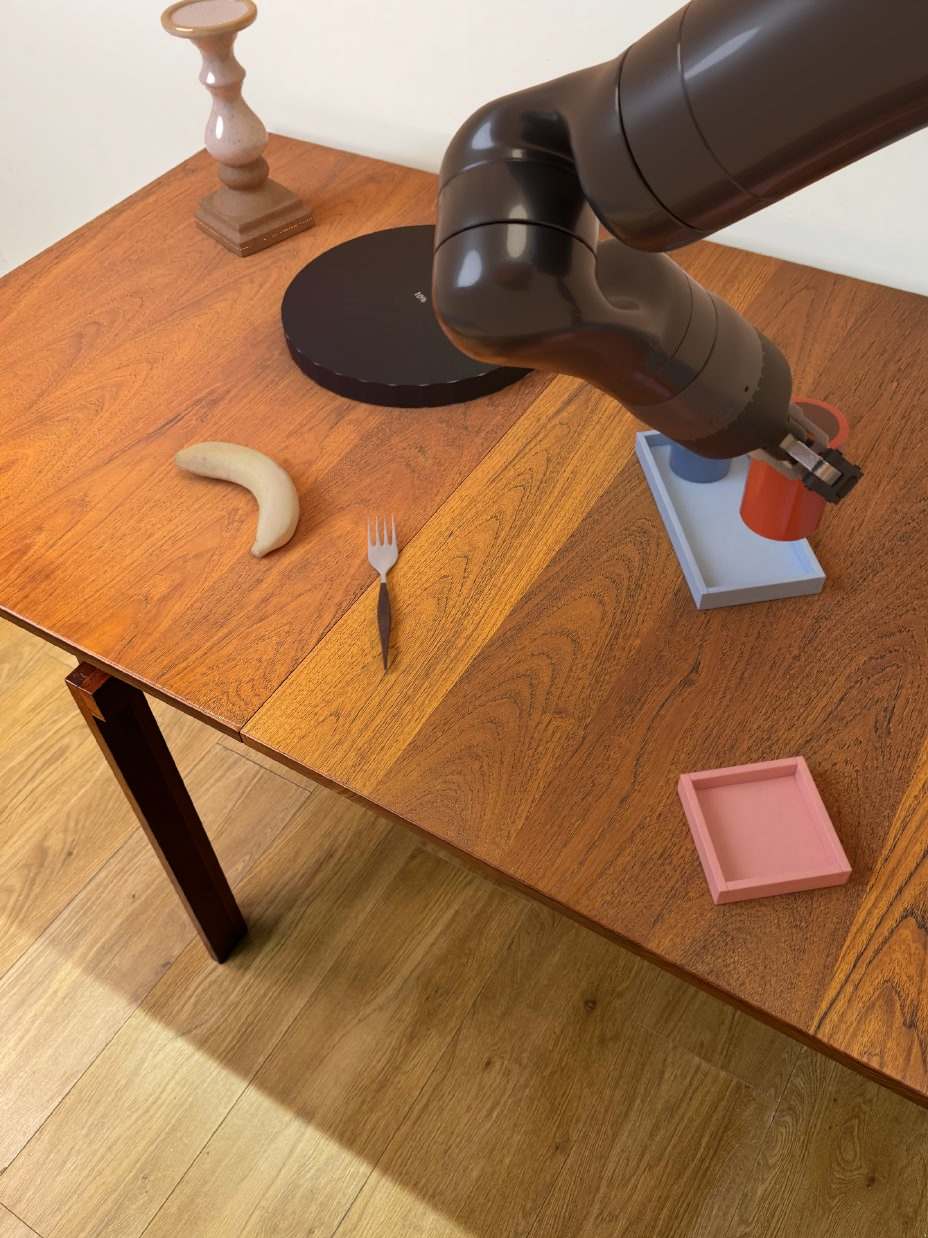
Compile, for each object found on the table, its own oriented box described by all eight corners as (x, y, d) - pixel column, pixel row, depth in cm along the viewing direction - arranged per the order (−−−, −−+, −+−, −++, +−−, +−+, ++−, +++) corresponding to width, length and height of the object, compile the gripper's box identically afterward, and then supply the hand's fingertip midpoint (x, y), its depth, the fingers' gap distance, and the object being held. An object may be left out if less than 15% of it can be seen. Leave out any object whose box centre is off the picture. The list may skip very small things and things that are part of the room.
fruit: (243, 441, 96) (235, 413, 94) (327, 524, 89) (321, 496, 86) (177, 474, 94) (167, 447, 91) (258, 563, 86) (249, 536, 83)
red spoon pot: (804, 482, 72) (830, 391, 66) (833, 536, 69) (863, 445, 63) (728, 492, 72) (747, 401, 66) (754, 546, 68) (776, 456, 62)
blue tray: (740, 434, 94) (744, 417, 92) (820, 593, 81) (826, 576, 79) (634, 448, 93) (636, 432, 92) (698, 610, 80) (701, 594, 79)
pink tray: (797, 770, 70) (803, 755, 69) (844, 884, 65) (852, 870, 63) (677, 789, 70) (680, 774, 68) (714, 905, 64) (719, 892, 63)
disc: (621, 323, 106) (623, 298, 104) (397, 449, 95) (394, 424, 92) (444, 220, 122) (443, 197, 119) (233, 318, 110) (227, 294, 108)
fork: (369, 675, 78) (366, 660, 76) (368, 530, 88) (365, 514, 86) (402, 672, 78) (400, 657, 76) (397, 528, 88) (395, 512, 86)
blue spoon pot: (720, 439, 93) (734, 367, 87) (739, 479, 89) (755, 406, 83) (661, 447, 92) (671, 375, 86) (678, 487, 89) (689, 415, 83)
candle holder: (242, 258, 118) (190, 39, 100) (194, 225, 124) (136, 12, 105) (317, 224, 122) (280, 8, 104) (267, 194, 128) (224, -17, 110)
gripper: (837, 382, 50) (934, 474, 62) (658, 256, 58) (777, 360, 71) (736, 500, 52) (850, 565, 65) (579, 364, 60) (707, 445, 73)
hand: (811, 458), depth 68 cm, fingers closed on red spoon pot, 5 cm apart
